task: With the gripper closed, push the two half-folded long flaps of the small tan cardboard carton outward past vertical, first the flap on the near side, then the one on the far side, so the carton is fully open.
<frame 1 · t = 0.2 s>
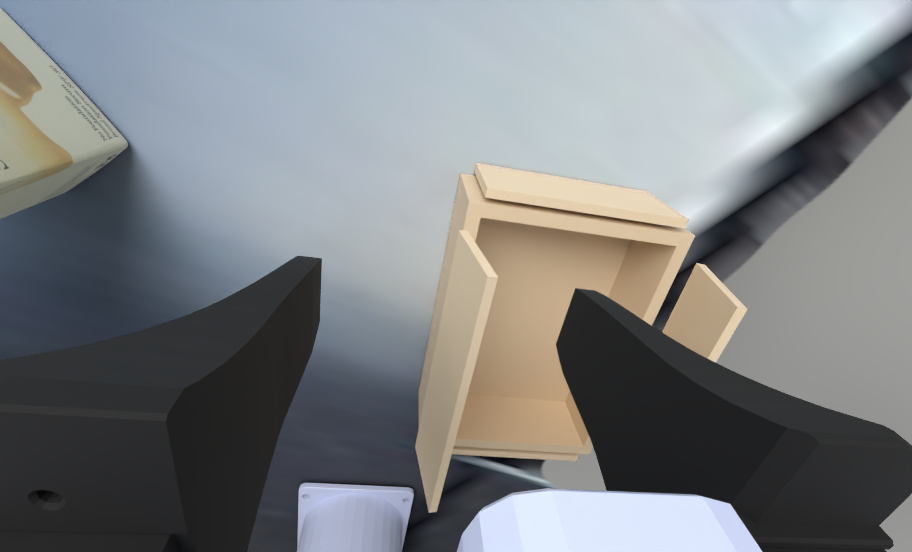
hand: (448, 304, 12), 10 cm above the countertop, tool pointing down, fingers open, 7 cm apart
carton: (523, 307, 25), on the countertop
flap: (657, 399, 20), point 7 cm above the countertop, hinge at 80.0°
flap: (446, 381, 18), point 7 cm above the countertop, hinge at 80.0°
skincare box: (36, 102, 18), on the countertop
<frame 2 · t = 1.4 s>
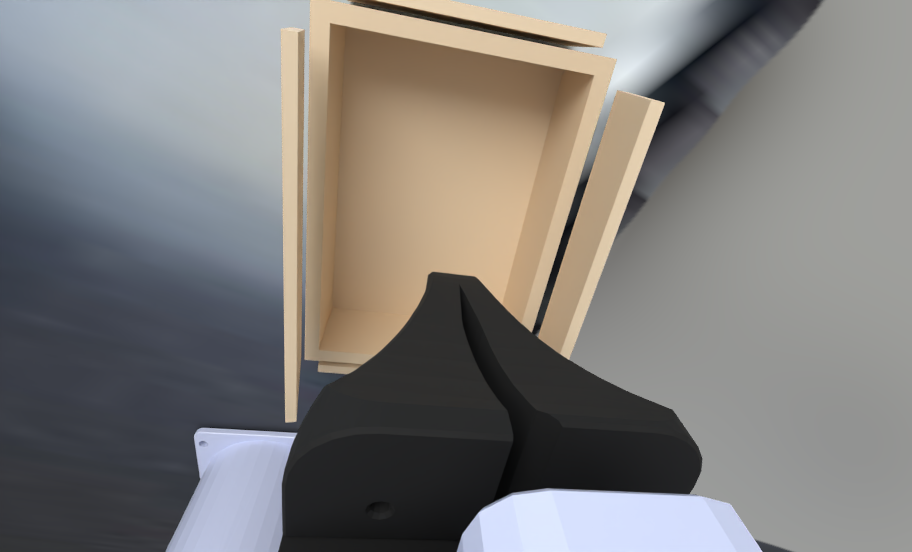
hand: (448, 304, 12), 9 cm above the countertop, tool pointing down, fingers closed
carton: (434, 198, 21), on the countertop
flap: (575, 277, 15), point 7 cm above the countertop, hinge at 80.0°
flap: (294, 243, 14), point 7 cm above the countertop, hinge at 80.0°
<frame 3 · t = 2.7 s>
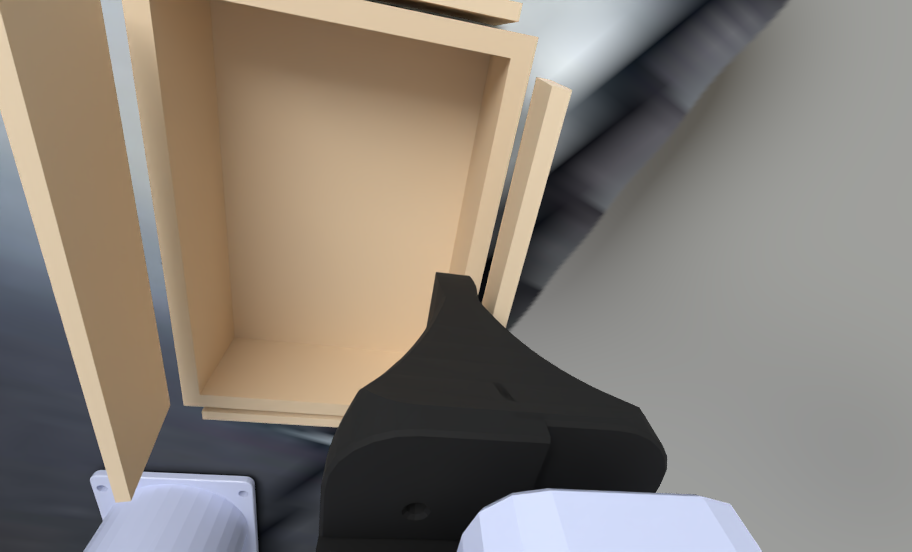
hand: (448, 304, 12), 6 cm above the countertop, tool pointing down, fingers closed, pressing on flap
carton: (347, 210, 17), on the countertop
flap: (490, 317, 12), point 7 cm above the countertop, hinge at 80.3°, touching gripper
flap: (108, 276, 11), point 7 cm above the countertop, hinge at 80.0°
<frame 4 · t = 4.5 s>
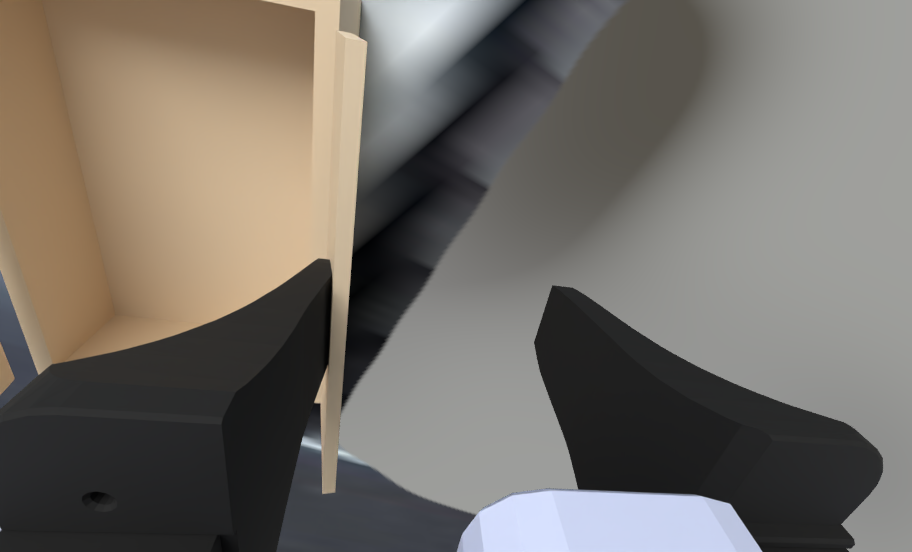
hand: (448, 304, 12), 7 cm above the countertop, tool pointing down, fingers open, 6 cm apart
carton: (216, 183, 17), on the countertop
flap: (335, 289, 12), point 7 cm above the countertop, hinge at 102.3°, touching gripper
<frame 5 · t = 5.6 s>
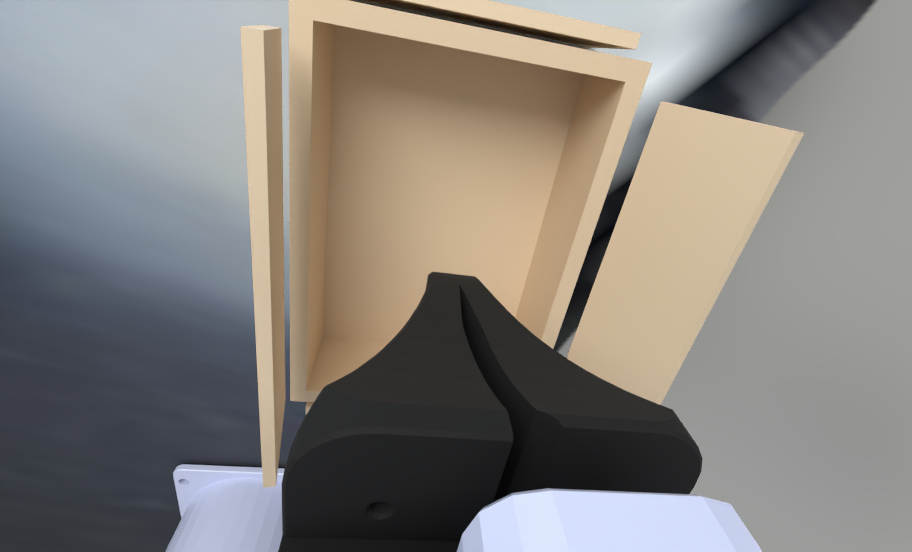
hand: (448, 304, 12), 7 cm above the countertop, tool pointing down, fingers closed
carton: (436, 217, 18), on the countertop
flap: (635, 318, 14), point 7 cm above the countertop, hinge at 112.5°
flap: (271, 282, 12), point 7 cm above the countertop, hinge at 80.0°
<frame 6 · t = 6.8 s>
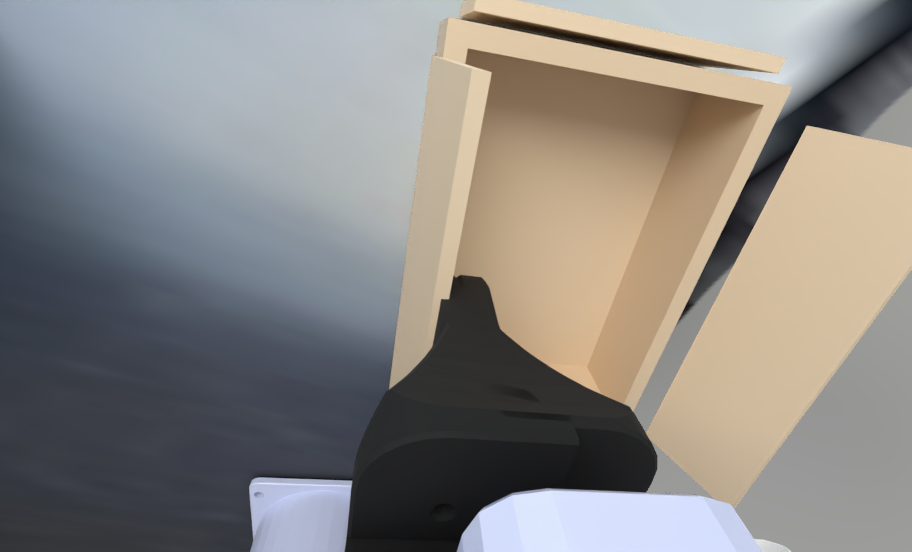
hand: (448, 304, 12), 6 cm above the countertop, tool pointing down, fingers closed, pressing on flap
carton: (532, 234, 18), on the countertop
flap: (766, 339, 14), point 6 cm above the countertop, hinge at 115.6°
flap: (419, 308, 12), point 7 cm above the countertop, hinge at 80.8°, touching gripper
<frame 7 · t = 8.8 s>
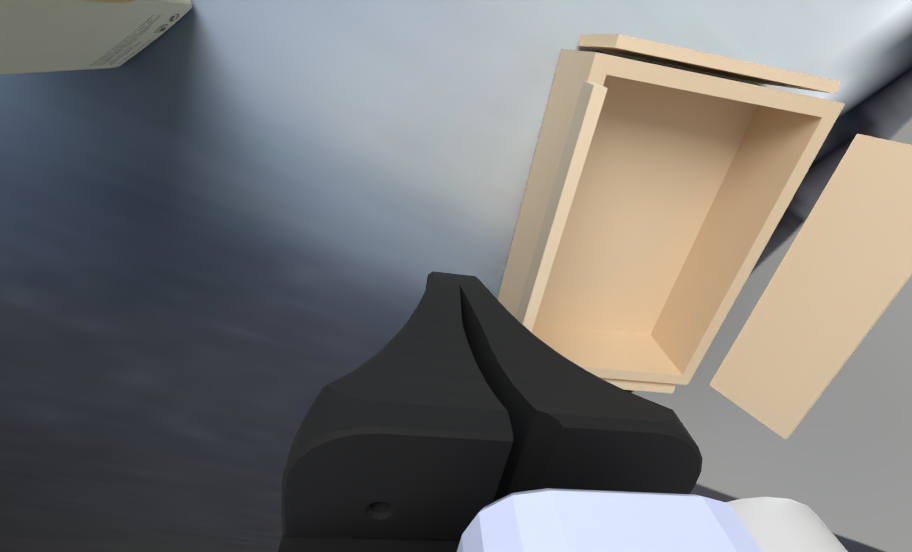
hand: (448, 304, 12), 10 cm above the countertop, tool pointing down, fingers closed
carton: (614, 220, 22), on the countertop
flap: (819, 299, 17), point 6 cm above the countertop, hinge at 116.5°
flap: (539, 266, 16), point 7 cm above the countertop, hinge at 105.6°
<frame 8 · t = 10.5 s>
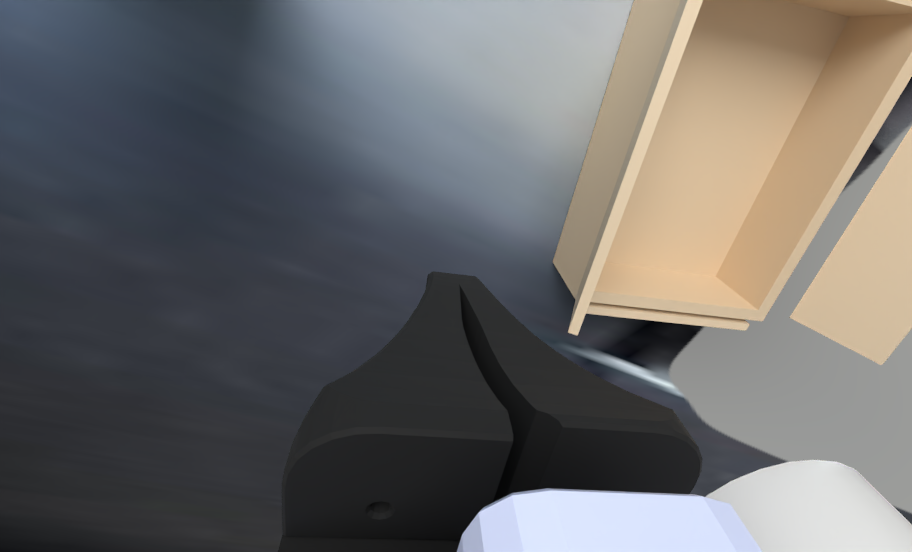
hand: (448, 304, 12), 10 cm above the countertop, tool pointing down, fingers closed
carton: (688, 148, 21), on the countertop
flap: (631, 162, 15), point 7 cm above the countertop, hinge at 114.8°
cylinder: (765, 523, 39), on the countertop
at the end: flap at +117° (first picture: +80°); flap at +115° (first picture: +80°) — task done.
